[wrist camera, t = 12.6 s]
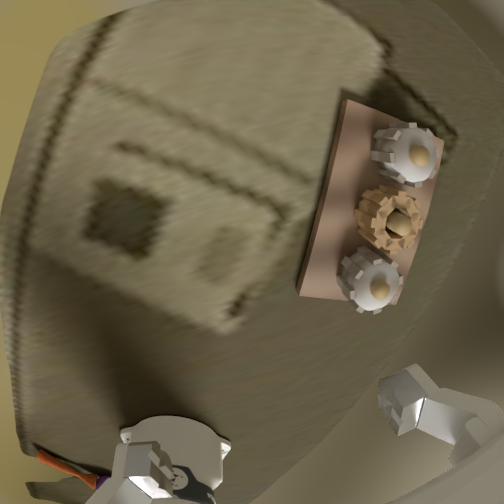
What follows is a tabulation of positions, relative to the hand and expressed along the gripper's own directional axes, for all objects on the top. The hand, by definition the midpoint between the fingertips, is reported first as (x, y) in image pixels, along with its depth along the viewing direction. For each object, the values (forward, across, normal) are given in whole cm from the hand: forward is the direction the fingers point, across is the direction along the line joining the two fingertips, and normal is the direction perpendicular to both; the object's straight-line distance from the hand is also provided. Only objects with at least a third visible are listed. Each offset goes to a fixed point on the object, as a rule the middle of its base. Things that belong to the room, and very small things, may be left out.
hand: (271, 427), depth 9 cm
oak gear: (+23, -17, +2) cm, 29 cm away
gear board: (+24, -17, +2) cm, 30 cm away
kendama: (+27, +45, +42) cm, 67 cm away
